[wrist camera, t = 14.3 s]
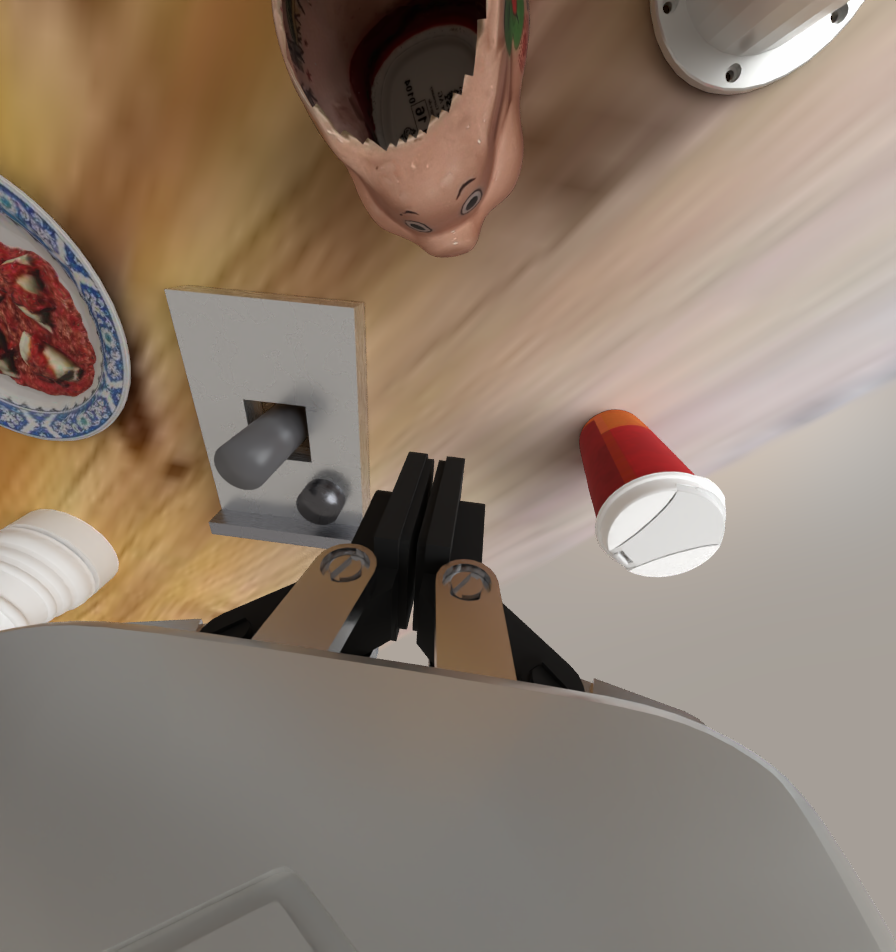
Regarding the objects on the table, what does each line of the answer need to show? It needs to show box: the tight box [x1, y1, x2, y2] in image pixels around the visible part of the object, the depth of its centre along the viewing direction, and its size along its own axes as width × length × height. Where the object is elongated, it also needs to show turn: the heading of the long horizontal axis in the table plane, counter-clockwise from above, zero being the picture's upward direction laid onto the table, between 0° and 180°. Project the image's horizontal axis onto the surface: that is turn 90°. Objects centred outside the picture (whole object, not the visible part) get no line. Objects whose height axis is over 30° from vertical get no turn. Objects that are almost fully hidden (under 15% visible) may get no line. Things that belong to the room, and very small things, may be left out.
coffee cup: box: [579, 410, 726, 577], centre depth 33 cm, size 8×8×15 cm
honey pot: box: [0, 509, 119, 631], centre depth 48 cm, size 13×13×18 cm
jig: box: [164, 285, 370, 549], centre depth 40 cm, size 24×16×5 cm, turn 176°
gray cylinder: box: [214, 403, 309, 490], centre depth 38 cm, size 4×4×10 cm
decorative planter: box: [272, 0, 530, 257], centre depth 22 cm, size 20×12×14 cm, turn 23°
